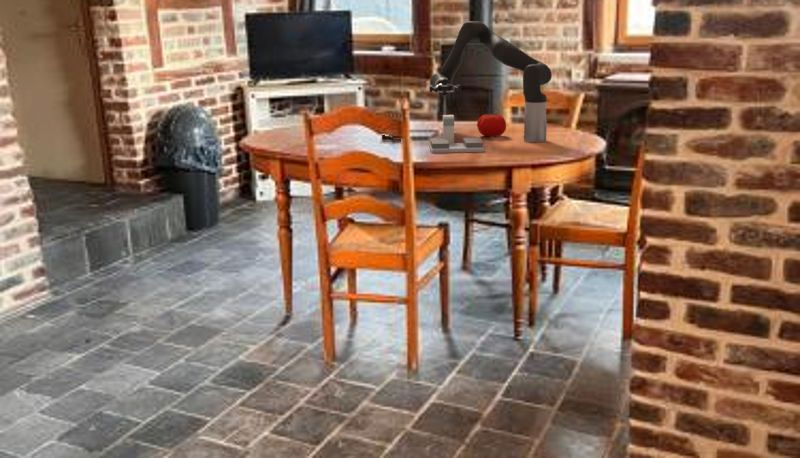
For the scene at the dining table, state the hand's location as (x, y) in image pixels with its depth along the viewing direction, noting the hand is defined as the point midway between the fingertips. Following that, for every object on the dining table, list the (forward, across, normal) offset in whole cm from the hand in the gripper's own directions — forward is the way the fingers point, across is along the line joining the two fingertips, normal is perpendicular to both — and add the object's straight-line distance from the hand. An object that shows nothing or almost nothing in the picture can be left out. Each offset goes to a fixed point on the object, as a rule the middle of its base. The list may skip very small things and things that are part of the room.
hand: (446, 89), depth 347 cm
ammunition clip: (-3, -24, +22) cm, 33 cm away
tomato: (-4, +21, +22) cm, 31 cm away
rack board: (+26, +2, +22) cm, 34 cm away
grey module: (+11, 0, +22) cm, 25 cm away
